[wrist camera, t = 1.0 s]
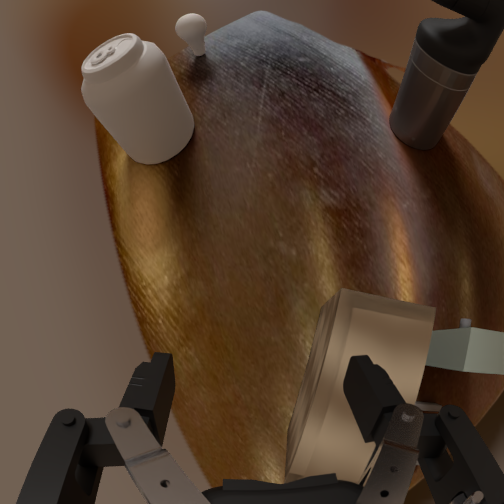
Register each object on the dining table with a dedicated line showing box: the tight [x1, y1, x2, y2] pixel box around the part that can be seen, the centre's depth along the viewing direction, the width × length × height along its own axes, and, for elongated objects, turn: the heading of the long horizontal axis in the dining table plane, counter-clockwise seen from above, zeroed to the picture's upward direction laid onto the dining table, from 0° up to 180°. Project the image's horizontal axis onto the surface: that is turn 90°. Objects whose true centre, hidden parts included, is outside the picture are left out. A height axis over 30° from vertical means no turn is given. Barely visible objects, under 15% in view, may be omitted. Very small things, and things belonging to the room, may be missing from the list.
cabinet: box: [284, 288, 442, 484], centre depth 24 cm, size 18×19×15 cm
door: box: [425, 319, 504, 374], centre depth 25 cm, size 5×8×13 cm, turn 75°
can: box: [81, 33, 194, 164], centre depth 36 cm, size 12×12×20 cm
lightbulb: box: [175, 14, 207, 56], centre depth 46 cm, size 6×6×11 cm
